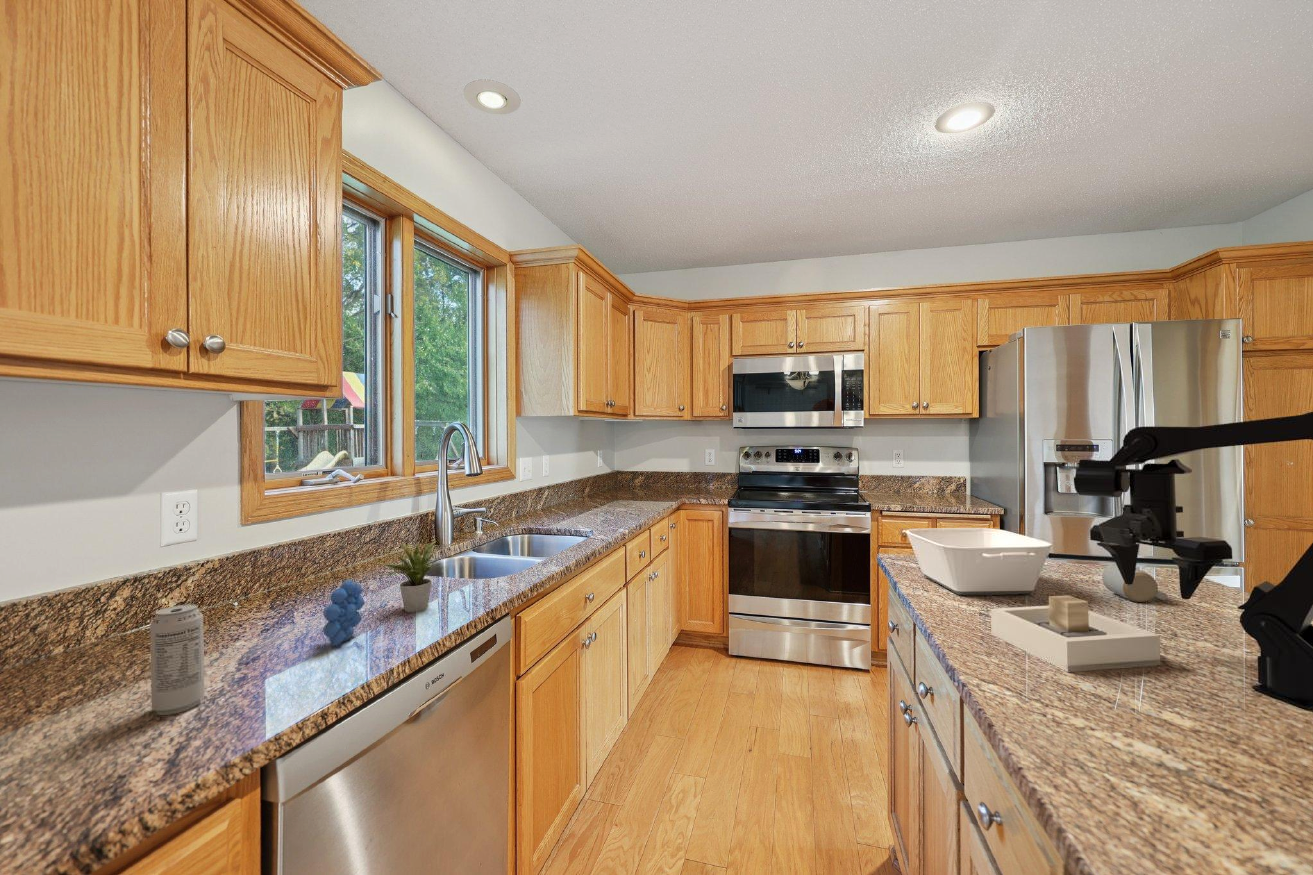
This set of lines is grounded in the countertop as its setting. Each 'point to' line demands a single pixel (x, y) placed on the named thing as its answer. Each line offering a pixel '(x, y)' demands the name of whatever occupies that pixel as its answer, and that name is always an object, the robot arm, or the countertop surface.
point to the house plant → (414, 578)
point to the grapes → (343, 612)
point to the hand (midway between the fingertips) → (1155, 591)
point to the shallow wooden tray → (1076, 640)
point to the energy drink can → (177, 659)
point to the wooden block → (1068, 614)
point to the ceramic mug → (1138, 591)
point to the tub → (979, 559)
